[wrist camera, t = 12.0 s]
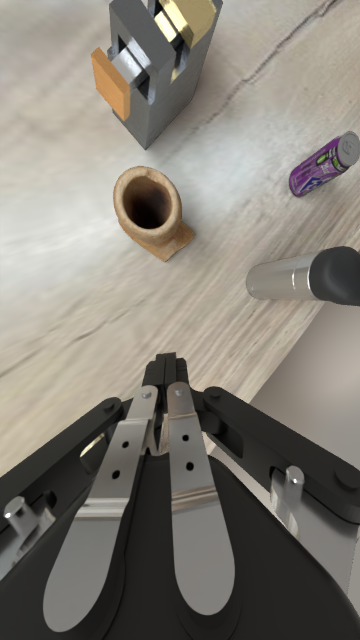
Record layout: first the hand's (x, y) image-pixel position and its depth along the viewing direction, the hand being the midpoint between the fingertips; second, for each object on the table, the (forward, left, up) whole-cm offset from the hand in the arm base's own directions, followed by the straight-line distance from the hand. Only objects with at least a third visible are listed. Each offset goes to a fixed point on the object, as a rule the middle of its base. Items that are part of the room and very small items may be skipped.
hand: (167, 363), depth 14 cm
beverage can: (-53, -15, -29) cm, 62 cm away
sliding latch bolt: (-18, -37, -20) cm, 46 cm away
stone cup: (-10, -16, -29) cm, 34 cm away
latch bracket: (-21, -38, -28) cm, 52 cm away
